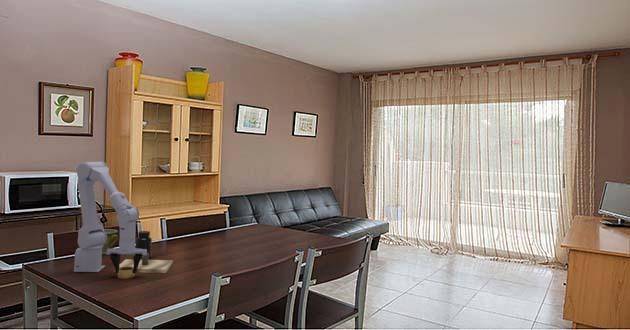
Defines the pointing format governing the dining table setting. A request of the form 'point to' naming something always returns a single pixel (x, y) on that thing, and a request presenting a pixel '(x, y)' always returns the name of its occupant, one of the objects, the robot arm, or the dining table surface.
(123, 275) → the wooden ring
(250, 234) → the dining table surface
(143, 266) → the piston block
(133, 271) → the robot arm
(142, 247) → the supplement bottle
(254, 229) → the dining table surface
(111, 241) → the ceramic cup
